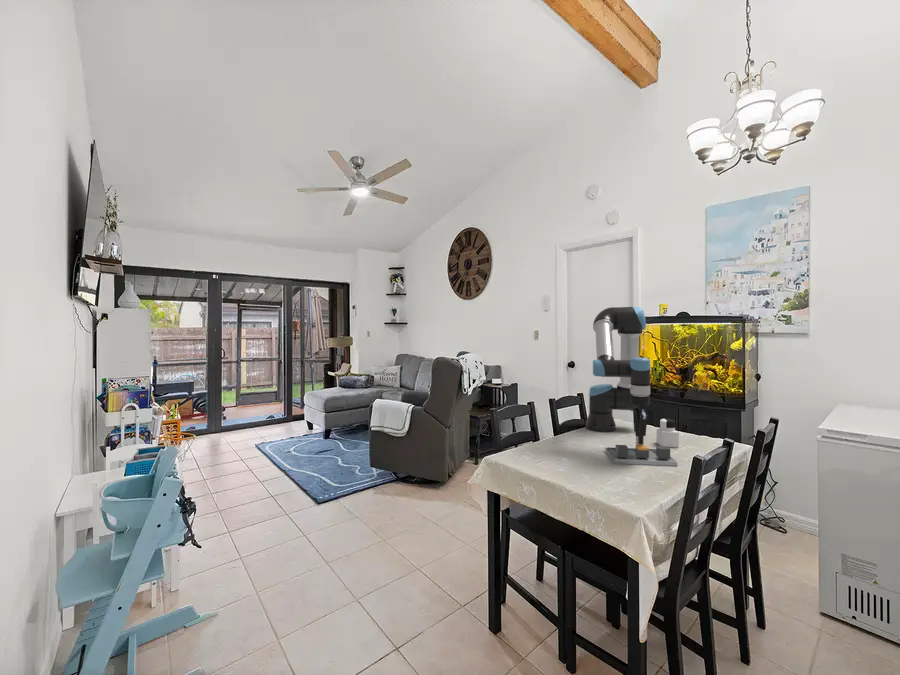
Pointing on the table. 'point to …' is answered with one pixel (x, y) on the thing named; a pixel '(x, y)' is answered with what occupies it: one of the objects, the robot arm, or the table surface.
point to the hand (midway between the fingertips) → (639, 450)
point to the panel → (639, 461)
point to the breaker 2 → (662, 452)
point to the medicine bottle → (667, 434)
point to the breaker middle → (642, 451)
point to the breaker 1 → (622, 451)
